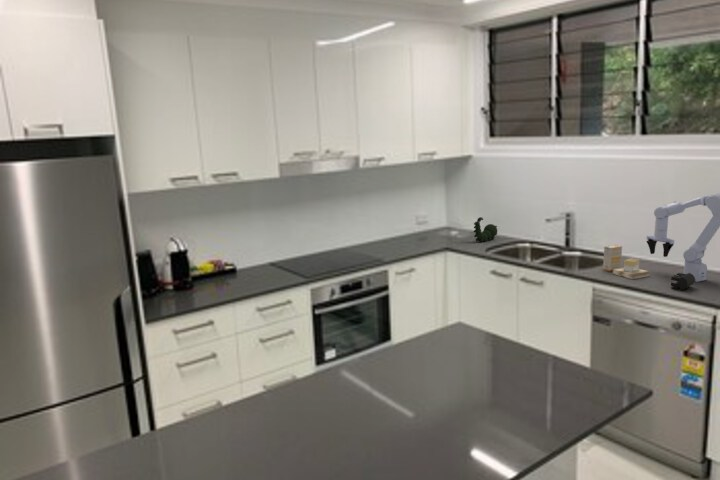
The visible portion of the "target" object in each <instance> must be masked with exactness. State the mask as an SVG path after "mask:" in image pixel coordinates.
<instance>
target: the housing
mask: <svg viewBox="0 0 720 480" xmlns="http://www.w3.org/2000/svg"><path fill="white" fill-rule="evenodd" d="M622 268H623V271H626V272H635V271H637V270H639V269H640V258H632V257H630V258H627V259H624V261H623V267H622Z"/></svg>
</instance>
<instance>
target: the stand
mask: <svg viewBox="0 0 720 480" xmlns="http://www.w3.org/2000/svg"><path fill="white" fill-rule="evenodd" d="M623 268H624V267H621V268H618V269H613V271H612V274H613V275H616V276H619V277H623V278H626V279H631V280H636V279H641V278H647V277H649V276H650V271H649V270H646V269H641V268H639V270H637V271H635V272H626V271H623Z"/></svg>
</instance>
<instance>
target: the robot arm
mask: <svg viewBox="0 0 720 480" xmlns="http://www.w3.org/2000/svg"><path fill="white" fill-rule="evenodd" d="M699 205H701V206H703V207H705V206H706V207H707V209H708V210H710V212H711V214H712V217H711V218H710V220H709V221H708V223H707V224H706V226H705V227H704V228H703V230H702V232H701V233H700V234H699V235H698V237H697V239H696V240H695V241H694V243H693V244H691V245H690V246H689V248H688V249H685V250H684V252H683V254H682V257H683V259H684V265H683V274H688V273H691V274H692V275H693V276H694V277H695V282H696V283H697V282H702V281H707V280H708V278H707V273H708V266H707V264H705V263H704V262H702V259H703V257H704V256H705V252H706V250H707V246H708V244H709V243H710V241H712V239H713V237H714V236H715V235H716V233H717V231H718V230H719V229H720V193H716V194H709V195H704V196H698V197H696V198H694V199H690V200H688V201H684V202H682V201H677V200H675V201H672V203H669V204H664V205H663V206H658V207H656V208H655V210H654V213H653V214H654V217H655V221H654V231H653V232H654V234H653V236H652V235H646V243H647V246H648V248H649V252H650V255H653V254H655V252H656V247H657V243H658V242H659V243H662V249H663V252H662V253H663V257H664V258H667V257H668V256H669V253H670V251H671V250H672V248H673V246H674V244H675V240H674V239H671V238H668V237H667V236H668V225H669V217H671V216H672V217H673V216H675V215H679V214H681V213H683V212H685V210H686V209H688V208H692V207H696V206H699Z"/></svg>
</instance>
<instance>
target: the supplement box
mask: <svg viewBox="0 0 720 480" xmlns="http://www.w3.org/2000/svg"><path fill="white" fill-rule="evenodd" d="M622 253H623V246H622V245H619V244H612V245H604V247H603V265H602V267H603V268H602V270H604V271H608V272H611V271H612V272H613V269H618V268H622V256H623V255H622Z"/></svg>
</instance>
